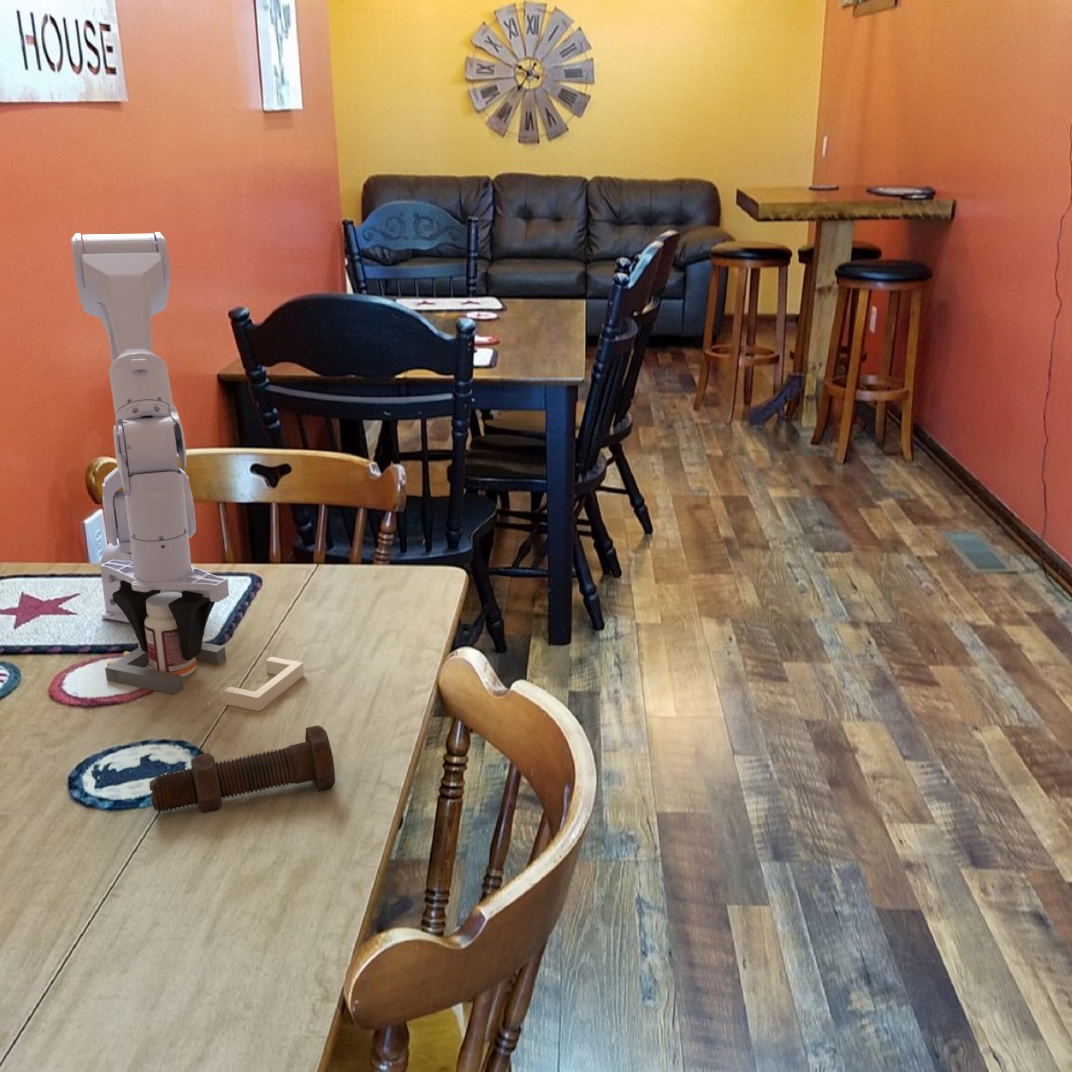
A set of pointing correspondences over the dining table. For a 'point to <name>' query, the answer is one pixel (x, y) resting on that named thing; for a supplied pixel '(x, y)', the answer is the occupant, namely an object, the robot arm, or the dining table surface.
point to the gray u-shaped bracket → (135, 675)
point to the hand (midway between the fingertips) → (171, 652)
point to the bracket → (267, 685)
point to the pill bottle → (165, 637)
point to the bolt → (246, 774)
